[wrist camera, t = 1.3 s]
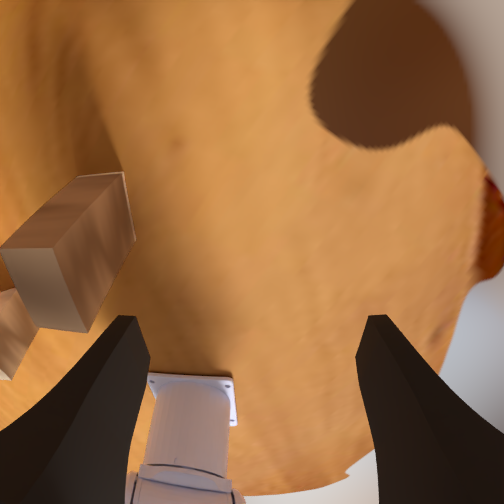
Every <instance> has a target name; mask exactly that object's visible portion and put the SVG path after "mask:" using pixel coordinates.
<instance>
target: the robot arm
mask: <svg viewBox="0 0 504 504" xmlns="http://www.w3.org/2000/svg"><path fill="white" fill-rule="evenodd" d="M355 358H356V366H357V373H358V380H359V386H360V390H361V394H362V398H363V402H364V406H365V410H366V413H367V417H368V421H369V425H370V429H371V434H372V438H373V442H374V447H375V453H376V462H377V473H378V487H379V504H504V434H503V433H502V432H500V431H499V430H498V429H496V428H495V427H494V426H492V425H491V424H490V423H489V422H487V421H486V420H484V419H483V418H482V417H481V416H480V415H478V414H477V413H476V412H475V411H474V410H473V409H472V408H470V407H469V406H468V405H467V404H466V403H465V402H464V401H463V400H462V399H461V398H459V396H457V395H456V394H455V393H454V392H453V391H452V390H451V389H450V388H449V386H448V385H447V384H446V383H445V382H444V381H443V380H442V379H441V378H440V377H439V376H438V375H437V374H436V373H435V371H434V370H433V369H432V368H431V367H430V366H429V365H428V363H427V362H426V361H425V360H424V359H423V358H422V356H421V355H420V354H419V353H418V352H417V351H416V349H415V348H414V347H413V346H412V345H411V343H410V342H409V341H408V340H407V339H406V337H405V336H404V335H403V334H402V332H401V331H400V330H399V329H398V328H397V326H396V325H395V324H394V323H393V322H392V320H391V319H390V318H389V317H388V316H387V315H370V316H368V319H367V323H366V326H365V329H364V332H363V335H362V338H361V342H360V345H359V348H358V351H357V354H356V356H355ZM149 363H150V355H149V352H148V349H147V347H146V344H145V341H144V339H143V336H142V333H141V330H140V327H139V324H138V321H137V318H136V316H124V315H118V316H117V318H116V319H115V320H114V321H113V322H112V323H111V324H110V325H109V326H108V328H107V329H106V330H105V331H104V332H103V333H102V334H101V336H100V337H99V338H98V339H97V340H96V341H95V343H94V344H93V345H92V346H91V347H90V348H89V350H88V351H87V352H86V353H85V354H84V355H83V356H82V358H81V359H80V360H79V361H78V362H77V363H76V364H75V365H74V367H73V368H72V369H71V370H70V371H69V372H68V373H67V374H66V375H65V376H64V377H63V378H62V379H61V380H60V381H59V383H58V384H57V385H56V386H55V387H54V388H53V389H52V390H51V391H50V392H49V393H47V394H46V395H45V396H44V397H43V398H42V399H41V400H40V401H39V402H38V403H36V404H35V405H34V406H33V407H32V408H31V409H29V410H28V411H27V412H26V413H24V414H23V415H22V416H20V417H19V418H18V419H17V420H15V421H14V422H13V423H12V424H10V425H9V426H7V427H6V428H4V429H3V430H1V431H0V504H246V502H245V499H244V497H243V496H242V495H241V494H240V492H239V491H238V490H237V489H232V480H230V479H227V463H228V444H229V426H236V425H237V423H238V421H237V412H236V403H235V393H234V384H233V379H232V378H230V377H213V376H191V375H175V374H161V373H148V370H149ZM147 382H148V384H149V386H150V388H151V391H152V393H153V395H154V397H155V399H156V402H155V406H154V411H153V416H152V420H151V425H150V430H149V435H148V440H147V445H146V450H145V456H144V461H143V464H140V469H139V474H138V472H135V471H130V473H128V474H127V465H128V457H129V450H130V445H131V440H132V436H133V432H134V428H135V425H136V421H137V417H138V413H139V410H140V406H141V402H142V399H143V395H144V391H145V388H146V383H147Z"/></svg>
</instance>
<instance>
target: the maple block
mask: <svg viewBox="0 0 504 504" xmlns="http://www.w3.org/2000/svg"><path fill="white" fill-rule="evenodd" d="M39 328H40V327H36V326H35V324H34V322H33V321H32V319H31V317H30V315H29V313H28V311H27V309H26V307H25V305H24V303H23V302H22V300H21V298H20V296H19V293H18V291H17V289H16V288H12V289H9V290H6V291H2V292H1V293H0V380H12V379H13V377H14V375H15V373H16V371H17V369H18V367H19V365H20V363H21V361H22V359H23V357H24V355H25V353H26V351H27V350H28V348H29V346H30V344H31V342H32V341H33V339H34V337H35V335H36V333H37V332H38V330H39Z"/></svg>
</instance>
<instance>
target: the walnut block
mask: <svg viewBox="0 0 504 504" xmlns="http://www.w3.org/2000/svg"><path fill="white" fill-rule="evenodd" d="M135 241H136V234H135V229H134V225H133V220H132V215H131V210H130V204H129V199H128V194H127V188H126V182H125V176H124V171H123V172H112V173H101V174H92V175H83V176H77V177H76V178H74V179H73V180H72V181H71V182H70V183H68V184H67V185H66V186H65V187H64V188H62V189H61V190H60V191H59V192H58V193H57V194H55V195H54V196H53V197H52V198H51V199H50V200H49V201H48V202H46V203H45V204H44V205H43V206H42V207H41V208H40V209H39V210H38V211H36V212H35V213H34V214H33V215H32V216H31V217H30V218H29V219H28V220H27V221H26V222H25V223H24V224H23V225H22V226H21V227H20V228H19V229H18V230H17V231H16V232H15V233H14V234H13V235H12V236H11V237H10V238H9V239H8V240H7V241H6V242H5V243H4V244H3V245H2V246H1V247H0V253H1V256H2V258H3V261H4V263H5V265H6V268H7V270H8V272H9V274H10V277H11V279H12V281H13V283H14V285H15V287H16V289H17V291H18V293H19V296H20V298H21V300H22V302H23V303H24V305H25V307H26V309H27V311H28V313H29V315H30V317H31V319H32V321H33V322H34V324H35V326H36V327H41V328H48V329H56V330H63V331H72V332H80V333H88V332H89V330H90V328H91V326H92V324H93V322H94V320H95V317H96V315H97V313H98V311H99V309H100V307H101V305H102V303H103V301H104V299H105V297H106V295H107V293H108V291H109V289H110V287H111V285H112V284H113V282H114V280H115V278H116V276H117V274H118V272H119V270H120V268H121V267H122V265H123V263H124V261H125V259H126V257H127V256H128V254H129V252H130V250H131V248H132V247H133V245H134V243H135Z"/></svg>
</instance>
